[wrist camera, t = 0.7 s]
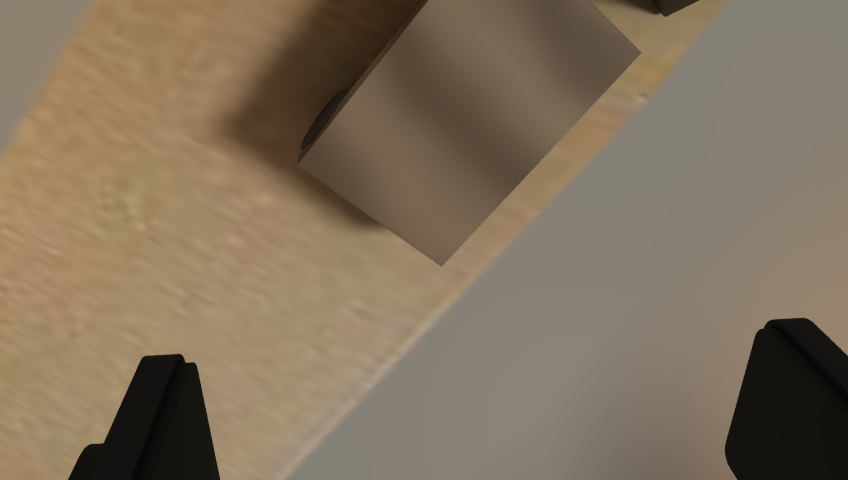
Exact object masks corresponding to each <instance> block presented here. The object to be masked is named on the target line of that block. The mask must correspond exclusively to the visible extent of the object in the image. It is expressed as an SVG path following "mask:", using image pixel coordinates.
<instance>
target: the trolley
mask: <svg viewBox="0 0 848 480" xmlns="http://www.w3.org/2000/svg"><path fill="white" fill-rule="evenodd" d="M640 54H641V52H640V51H639V50H638V49H637V48H636V47H635V46H634V45H633V44H632V43H631V42H630V41H629V40H628V39H627V38H626V37H625V36H624V35H623V34H622V33H621V32H620V31H619V30H618V29H617V28H616V27H615V26H614V25H613V24H612V23H611V22H610V21H609V20H608V19H607V18H606V17H605V16H604V15H603V14H602V13H601V12H600V11H599V10H598V9H597V8H596V7H595V6H594V5H593V4H592V3H591V2H590V1H589V0H421V1H420V2H419V4H418V5H417V6H416V7H415V9H414V10H413V11H412V13H411V14H410V15H409V16H408V18H407V19H406V20H405V21H404V23H403V24H402V25H401V26H400V28H399V29H398V30H397V31H396V33H395V34H394V35H393V37H392V38H391V39H390V40H389V42H388V43H387V44H386V45H385V47H384V48H383V49H382V50H381V52H380V53H379V54H378V56H377V57H376V58H375V59H374V61H373V62H372V63H371V64H370V66H369V67H368V68H367V69H366V71H365V72H364V73H363V75H362V76H361V77H360V78H359V80H358V81H357V82H356V83H355V85H354V86H353V87H352V88H351V90H350V91H349V92H348V93H347V92H346V91H345V90H341V91H340V92H338V93H337V94H336V95H335V96H334V97H333V98H332V99H331V100H330V102H329V103H328V104H327V105H326V106H325V108H324V109H323V110H322V111H321V113H320V114H319V116H318V117H317V118H316V120H315V121H314V123H313V124H312V126H311V127H310V129H309V130H308V132H307V134H306V136H305V137H304V139H303V142H302V144H301V149H302V152H301V153H300V154H299V159H298V164H297V166H298V167H300V168H301V169H303V170H304V171H306V172H307V173H308V174H310V175H311V176H313V177H314V178H316V179H317V180H318V181H320V182H321V183H323V184H324V185H326V186H327V187H328V188H330V189H331V190H333V191H334V192H336V193H337V194H338V195H340V196H341V197H343V198H344V199H346V200H347V201H348V202H350V203H351V204H353V205H354V206H356V207H357V208H358V209H360V210H361V211H363V212H364V213H366V214H367V215H368V216H370V217H371V218H373V219H374V220H376V221H377V222H378V223H380V224H381V225H383V226H384V227H386V228H387V229H388V230H390V231H391V232H393V233H394V234H396V235H397V236H398V237H400V238H401V239H403V240H404V241H406V242H407V243H409V244H410V245H411V246H413V247H414V248H416V249H417V250H419V251H420V252H421V253H423V254H424V255H426V256H427V257H429V258H430V259H431V260H433V261H434V262H436V263H437V264H439V265H440V266H441V267H442V266H443V265H444V263H445V262H446V261H447V260H448V259H449V258H450V257H451V256H452V255H453V254H454V253H455V252H456V251H457V250H458V248H459V247H460V246H461V245H462V244H463V243H464V242H465V241H466V240H467V239H468V238H469V237H470V236H471V235H472V234H473V232H474V231H475V230H476V229H477V228H478V227H479V226H480V225H481V224H482V223H483V222H484V221H485V220H486V219H487V217H488V216H489V215H490V214H491V213H492V212H493V211H494V210H495V209H496V208H497V207H498V206H499V205H500V204H501V202H502V201H503V200H504V199H505V198H506V197H507V196H508V195H509V194H510V193H511V192H512V191H513V190H514V189H515V188H516V186H517V185H518V184H519V183H520V182H521V181H522V180H523V179H524V178H525V177H526V176H527V175H528V174H529V173H530V171H531V170H532V169H533V168H534V167H535V166H536V165H537V164H538V163H539V162H540V161H541V160H542V159H543V158H544V156H545V155H546V154H547V153H548V152H549V151H550V150H551V149H552V148H553V147H554V146H555V145H556V144H557V143H558V142H559V140H560V139H561V138H562V137H563V136H564V135H565V134H566V133H567V132H568V131H569V130H570V129H571V128H572V127H573V125H574V124H575V123H576V122H577V121H578V120H579V119H580V118H581V117H582V116H583V115H584V114H585V113H586V112H587V110H588V109H589V108H590V107H591V106H592V105H593V104H594V103H595V102H596V101H597V100H598V99H599V98H600V97H601V96H602V94H603V93H604V92H605V91H606V90H607V89H608V88H609V87H610V86H611V85H612V84H613V83H614V82H615V81H616V79H617V78H618V77H619V76H620V75H621V74H622V73H623V72H624V71H625V70H626V69H627V68H628V67H629V66H630V64H631V63H632V62H633V61H634V60H635V59H636V58H637V57H638V56H639V55H640Z"/></svg>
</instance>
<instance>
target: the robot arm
mask: <svg viewBox="0 0 848 480" xmlns="http://www.w3.org/2000/svg"><path fill="white" fill-rule="evenodd" d="M725 455H726V460H727V463H728V465H729V467H730V469H731V470H732V472H733V473H734V475H735V476H736V478H737V480H848V356H847V355H846V354H845V353H844V352H843V351H842V350H841V349H840V348H839V347H838V346H837V345H836V344H835V343H834V342H833V341H832V340H830V338H829V337H828V336H827V335H826V334H824V333H823V332H822V331H821V330H820V329H819V328H818V327H817V326H816V325H815V324H814V323H813V322H812V321H810V320H809V319H806V318H792V319H776V320H775V319H774V320H770V321H768V322H767V324H766V325H765V327H764V329H760V330H759V331H758V332H757V333H756V336H755V339H754V342H753V346H752V350H751V353H750V357H749V360H748V364H747V368H746V371H745V375H744V378H743V382H742V386H741V389H740V393H739V397H738V400H737V404H736V408H735V412H734V415H733V419H732V422H731V426H730V429H729V433H728V436H727V440H726V444H725ZM68 480H220V476H219V472H218V467H217V462H216V457H215V452H214V447H213V442H212V437H211V432H210V427H209V423H208V418H207V413H206V408H205V403H204V398H203V393H202V388H201V383H200V378H199V374H198V369H197V366H196V364H195V363H194V362H191V363H185V360H184V357H183V356H182V355H181V354H171V355H154V356H145V357H143V358H142V359H141V361H140V363H139V365H138V367H137V370H136V372H135V374H134V376H133V379H132V381H131V383H130V385H129V388H128V390H127V392H126V394H125V397H124V399H123V401H122V403H121V406H120V408H119V410H118V412H117V415H116V417H115V419H114V421H113V424H112V426H111V428H110V430H109V433H108V435H107V437H106V439H105V441H104V443H101V444H90V445H88V446H87V447H86V448H84V450H83V451H82V453H81V455H80V456H79V458H78V460H77V462H76V464H75V466H74V469H73V471H72V473H71V475H70V477H69V479H68Z"/></svg>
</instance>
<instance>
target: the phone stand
mask: <svg viewBox="0 0 848 480" xmlns="http://www.w3.org/2000/svg"><path fill="white" fill-rule="evenodd" d="M652 1H653V3H654V4H655V6H656V7H657V9H658V10H659V11H660V13H661V14H662V15H663V16H665V17H666V16H668V15H670V14H672V13H674V12H676V11H678V10H680V9H682V8H684V7H686V6H689V5H691V4H693V3H695V2H697V1H699V0H652Z"/></svg>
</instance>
